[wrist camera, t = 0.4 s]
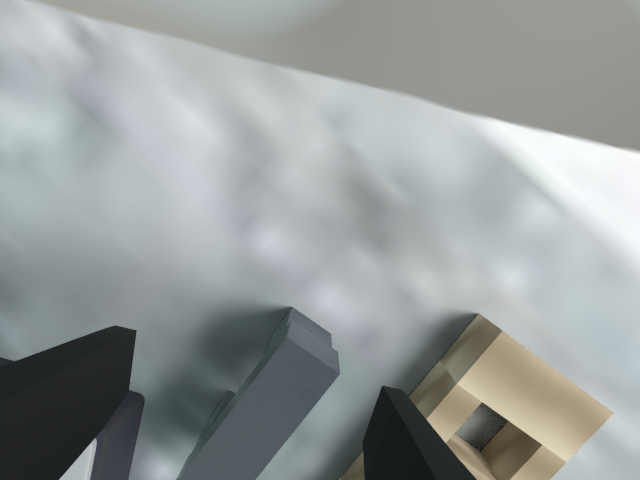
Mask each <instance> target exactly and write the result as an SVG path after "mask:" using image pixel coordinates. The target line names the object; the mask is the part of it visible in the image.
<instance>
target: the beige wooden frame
mask: <svg viewBox="0 0 640 480" xmlns="http://www.w3.org/2000/svg"><path fill="white" fill-rule="evenodd" d="M409 399H410V400H411V401H412V402H413V403H414V405H415V406H416V407H417V408H418V410H419V411H420V412H421V413H422V414H423V416H424V417H425V418H426V419H427V421H428V422H429V423H430V424H431V426H432V427H433V428H434V429H435V431H436V432H437V433H438V434H439V436H440V437H441V438H442V439H443V440H444V442H445V443H446V444H447V445H448V446H449V448H450V449H451V450H452V451H453V452H454V454H455V455H456V456H457V457H458V458H459V460H460V461H461V462H462V463H463V464H464V465H465V467H466V468H467V469H468V470H469V471H470V472H471V474H472V475H473V476H474V477H475V478H476V479H477V480H550V479H551V478H552V477H553V476H554V475H555V474H556V473H557V472H558V471H559V470H560V469H561V467H562V466H563V465H564V464H565V463H566V462H567V461H568V460H569V459H570V458H571V457H572V456H573V455H574V454H575V453H576V452H577V451H578V450H579V449H580V448H581V447H582V446H583V445H584V444H585V442H586V441H587V440H588V439H589V438H590V437H591V436H592V435H593V434H594V433H595V432H596V431H597V430H598V429H599V428H600V427H601V426H602V425H603V424H604V423H605V422H606V421H607V420H608V419H609V417H610V416H611V415H612V414H613V412H612V411H611V410H609V409H608V408H606V407H605V406H604V405H602V404H601V403H600V402H598V401H597V400H596V399H594V398H593V397H592V396H590V395H589V394H588V393H586V392H585V391H583V390H582V389H581V388H579V387H578V386H577V385H575V384H574V383H573V382H571V381H570V380H569V379H567V378H566V377H565V376H563V375H562V374H560V373H559V372H558V371H556V370H555V369H554V368H552V367H551V366H550V365H548V364H547V363H546V362H544V361H543V360H541V359H540V358H539V357H537V356H536V355H535V354H533V353H532V352H531V351H529V350H528V349H527V348H525V347H524V346H522V345H521V344H520V343H518V342H517V341H516V340H514V339H513V338H512V337H510V336H509V335H508V334H506V333H505V332H503V331H502V330H501V329H499V328H498V327H497V326H495V325H494V324H493V323H491V322H490V321H489V320H487V319H486V318H484V317H483V316H482V315H480V314H478V315H477V316H476V317H475V319H474V320H473V321H472V322H471V323H470V325H469V326H468V327H467V328H466V329H465V330H464V332H463V333H462V334H461V335H460V336H459V338H458V339H457V340H456V341H455V342H454V343H453V345H452V346H451V347H450V348H449V349H448V351H447V352H446V353H445V354H444V355H443V357H442V358H441V359H440V360H439V361H438V362H437V364H436V365H435V366H434V367H433V368H432V370H431V371H430V372H429V373H428V374H427V375H426V377H425V378H424V379H423V380H422V381H421V383H420V384H419V385H418V386H417V387H416V388H415V390H414V391H413V392H412V393H411V394H410V396H409ZM482 402H483V403H484V404H486V405H487V406H489V407H490V408H491V409H493V410H494V411H496V412H497V413H498V414H500V415H501V416H503V417H504V418H505V419H507V420H508V422H507V423H506V424H505V425H504V426H503V427H502V428H501V430H500V431H499V432H498V433H497V434H496V435H495V436H494V437H493V438H492V439H491V441H490V442H489V443H488V444H487V445H486V446H485V447H484V448H483V449H482V450H481V452H480V451H479V450H477V449H476V448H474V447H473V446H472V445H470V444H469V443H467V442H466V441H464V440H463V439H462V438H460V437H459V436H457V435H456V434H454V433H455V432H456V431H457V430H458V429H459V428H460V426H461V425H462V424H463V423H464V422H465V421H466V420H467V419H468V417H469V416H470V415H471V414H472V413H473V412H474V411H475V409H476V408H477V407H478V406H479V405H480V404H481V403H482ZM339 480H365V474H364V457H363V451H362V452H361V454H360V455H359V456H358V457H357V458H356V460H355V461H354V462H353V463H352V464H351V465H350V467H349V468H348V469H347V470H346V471H345V473H344V474H343V475H342V476H341V477H340V479H339Z"/></svg>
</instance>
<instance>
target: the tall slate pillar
mask: <svg viewBox="0 0 640 480" xmlns="http://www.w3.org/2000/svg"><path fill="white" fill-rule="evenodd" d="M339 374H340V370H339V358H338V352H337V351H336V350H334V349H333V348H332V343H331V334H330V333H329V332H327V331H326V330H324V329H323V328H322V327H320V326H319V325H317V324H316V323H314V322H313V321H312V320H310V319H309V318H307V317H306V316H304V315H303V314H302V313H300V312H299V311H297V310H296V309H294V308H293V307H292V308H291V309H290V310H289V312H288V313H287V314H286V316H285V317H284V318H283V320H282V321H281V322H280V324H279V325H278V326H277V328H276V329H275V330H274V332H273V334H272V337H271V340H270V342H269V345H268V347H267V350H266V353H265V355H264V357H263V358H262V360H261V361H260V362H259V364H258V365H257V366H256V368H255V369H254V370H253V372H252V373H251V374H250V376H249V377H248V378H247V380H246V381H245V382H244V384H243V385H242V386H241V388H240V389H239V390H238V392H237V393H236V394H234V393H232V392H231V391H229V392H228V393H227V394H226V396H225V397H224V398H223V400H222V401H221V402H220V404H219V405H218V406H217V408H216V409H215V410H214V412H213V413H212V415H211V417H210V419H209V421H208V423H207V425H206V427H205V428H204V430H203V432H202V434H201V436H200V438H199V440H198V442H197V444H196V446H195V448H194V450H193V451H192V453H191V454H190V455H189V457H188V458H187V460H186V462H185V464H184V466H183V468H182V470H181V472H180V473H179V475H178V477H177V479H176V480H255V479H256V478H257V477H258V476H259V474H260V473H261V472H262V471H263V469H264V468H265V467H266V466H267V464H268V463H269V462H270V461H271V459H272V458H273V457H274V456H275V454H276V453H277V452H278V451H279V449H280V448H281V447H282V446H283V444H284V443H285V442H286V441H287V439H288V438H289V437H290V436H291V434H292V433H293V432H294V431H295V429H296V428H297V427H298V426H299V424H300V423H301V422H302V421H303V419H304V418H305V417H306V416H307V414H308V413H309V412H310V411H311V409H312V408H313V407H314V406H315V404H316V403H317V402H318V401H319V399H320V398H321V397H322V396H323V394H324V393H325V392H326V391H327V389H328V388H329V387H330V386H331V384H332V383H333V382H334V381H335V379H336V378H337V377H338V376H339Z"/></svg>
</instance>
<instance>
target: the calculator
mask: <svg viewBox="0 0 640 480" xmlns="http://www.w3.org/2000/svg"><path fill="white" fill-rule="evenodd" d="M12 362H14V361H11V360H8V359H4V358H0V366H3V365H6V364H9V363H12ZM143 406H144V397H143V395H141V394H139V393H136V392H133V391H128V393H127V395H126V396H125V398H124V399H123V401H122V402H121V404H120V405H119V407H118V408H117V409H116V411H115V412H114V414H113V415H112V417H111V418H110V419H109V421H108V422H107V424H106V425H105V426H104V428H103V429H102V430H101V432H100V433H99V434H98V435H97V436H96V438H95V439H94V440H93V441H92V442H91V443H90V445H89V446H88V447H87V448H86V449H85V450H84V452H83V453H82V454H81V455H80V456H79V457H78V459H77V460H76V461H75V462H74V463H73V464H72V466H71V467H70V468H69V469H68V470H67V471H66V472H65V474H64V475H63V476H62V477H61V478H60V479H59V480H128V477H129V473H130V468H131V463H132V459H133V454H134V449H135V444H136V440H137V435H138V430H139V425H140V421H141V416H142V411H143Z"/></svg>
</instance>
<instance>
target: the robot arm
mask: <svg viewBox="0 0 640 480" xmlns="http://www.w3.org/2000/svg"><path fill="white" fill-rule="evenodd" d="M136 331H137V330H132V329H128V328H123V327H119V326H112V327H109V328H105V329H102V330H100V331H97V332H94V333H91V334H88V335H86V336H83V337H80V338H78V339H75V340H72V341H70V342H67V343H64V344H61V345H59V346H56V347H53V348H51V349H48V350H45V351H42V352H40V353H37V354H34V355H31V356H29V357H26V358H23V359H21V360H18V361H15V362H12V363H9V364H6V365H3V366H0V480H59V479H60V478H61V477H62V476H63V475H64V474H65V472H66V471H67V470H68V469H69V468H70V467H71V466H72V464H73V463H74V462H75V461H76V460H77V459H78V457H79V456H80V455H81V454H82V453H83V452H84V450H85V449H86V448H87V447H88V446H89V445H90V443H91V442H92V441H93V440H94V439H95V438H96V436H97V435H98V434H99V433H100V432H101V430H102V429H103V428H104V426H105V425H106V424H107V422H108V421H109V419H110V418H111V417H112V415H113V414H114V412H115V411H116V409H117V408H118V407H119V405H120V404H121V402H122V401H123V399H124V398H125V396H126V395H127V393H128V391H129V384H130V376H131V368H132V361H133V353H134V346H135V338H136ZM363 457H364V474H365V480H477V479H476V478H475V477H474V476H473V475H472V474H471V472H470V471H469V470H468V469H467V468H466V467H465V465H464V464H463V463H462V462H461V461H460V460H459V458H458V457H457V456H456V455H455V454H454V452H453V451H452V450H451V449H450V448H449V446H448V445H447V444H446V443H445V442H444V440H443V439H442V438H441V437H440V436H439V434H438V433H437V432H436V431H435V429H434V428H433V427H432V426H431V424H430V423H429V422H428V421H427V419H426V418H425V417H424V416H423V414H422V413H421V412H420V411H419V410H418V408H417V407H416V406H415V405H414V403H413V402H412V401H411V400H410V399H409V397H408V396H407V395H406V394H405V393H404V392H403V391H402V390H399V389H395V388H390V387H386V386H382V388H381V391H380V394H379V397H378V399H377V402H376V405H375V408H374V411H373V414H372V417H371V420H370V423H369V425H368V428H367V431H366V434H365V437H364V440H363Z"/></svg>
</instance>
